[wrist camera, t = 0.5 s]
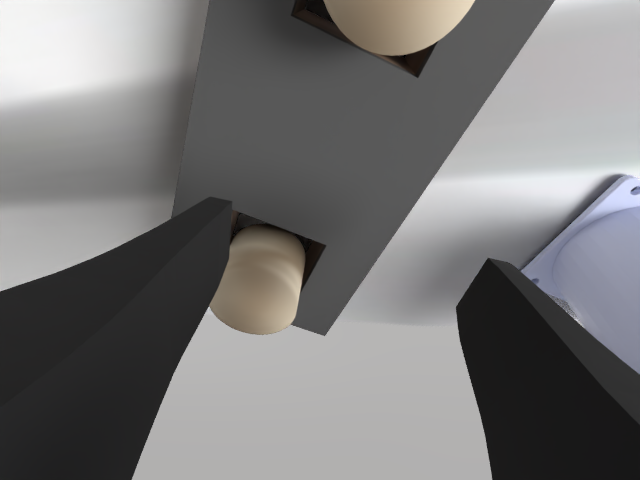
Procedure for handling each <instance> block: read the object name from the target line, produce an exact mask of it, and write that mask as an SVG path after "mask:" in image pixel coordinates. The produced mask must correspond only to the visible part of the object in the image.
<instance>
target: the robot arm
mask: <svg viewBox="0 0 640 480" xmlns="http://www.w3.org/2000/svg"><path fill="white" fill-rule="evenodd" d="M634 187H637V188H636V189H635V190H633V191H631V190H632V189H633V188H634ZM231 217H232V201H229V200H224V199H220V198H215V197H211V196H210V197H208V198H206V199H204V200H203V201H201V202H199V203H197V204H196V205H194V206H192V207H191V208H189V209H187V210H186V211H184V212H182V213H181V214H179V215H177V216H175V217H174V218H172V219H170V220H168V221H167V222H165V223H163V224H161V225H159V226H158V227H156V228H154V229H152V230H150V231H148V232H146V233H144V234H142V235H140V236H138V237H136V238H134V239H132V240H130V241H128V242H126V243H125V244H123V245H121V246H119V247H117V248H115V249H112V250H110V251H108V252H106V253H104V254H101V255H99V256H97V257H94V258H92V259H90V260H87V261H85V262H82V263H80V264H77V265H75V266H72V267H70V268H67V269H65V270H62V271H59V272H57V273H54V274H51V275H48V276H45V277H42V278H39V279H36V280H33V281H30V282H27V283H24V284H21V285H18V286H15V287H12V288H10V289H7V290H4V291H1V292H0V480H132V477H133V474H134V472H135V469H136V466H137V464H138V461H139V459H140V456H141V453H142V451H143V448H144V445H145V443H146V440H147V438H148V435H149V433H150V430H151V428H152V425H153V423H154V420H155V418H156V415H157V413H158V410H159V407H160V405H161V403H162V400H163V398H164V395H165V393H166V391H167V388H168V386H169V383H170V381H171V379H172V376H173V373H174V372H175V370H176V368H177V366H178V363H179V361H180V359H181V357H182V355H183V353H184V352H185V350H186V348H187V346H188V344H189V342H190V340H191V338H192V336H193V334H194V333H195V331H196V329H197V327H198V325H199V323H200V322H201V320H202V318H203V316H204V314H205V312H206V310H207V309H208V307H209V305H210V303H211V301H212V299H213V297H214V295H215V293H216V291H217V289H218V287H219V284H220V282H221V279H222V277H223V274H224V271H225V268H226V266H227V263H228V260H229V251H230V234H231ZM535 278H536V279H535ZM532 279H534V280H532ZM546 293H547V294H549V295H552V296H554V297H557V298H559V299H562V300H564V301H567V303H568V304H569V306H570V307H571V309H572V310H573V312H574V313H575V315H576V316H577V318H578V319H579V321H580V322H581V324H582V325H583V326H584V328H585V329H584V328H583V327H582V326H581V325H580V324H579V323H578V322H576V321H575V320H574V319H573V318H572V317H571V316H570V315H569V314H568V313H566V312H565V311H564V310H563V309H562V308H561V307H560V306H559V305H558V304H557V303H555V302H554V301H553V300H552V299H551V298H550V297H549V296H548V295H547V294H546ZM456 312H457V322H458V330H459V337H460V342H461V346H462V350H463V353H464V357H465V361H466V365H467V369H468V372H469V376H470V379H471V383H472V387H473V390H474V394H475V397H476V401H477V405H478V408H479V412H480V415H481V419H482V424H483V428H484V432H485V437H486V443H487V449H488V454H489V460H490V467H491V472H492V480H640V179H639V178H637V177H635V176H632V175H625V176H623V177H621V178H619V179H618V180H617V181H615V182H614V183H613V184H612V185H611V186H610V187H609V188H608V189H607V190H606V191H605V192H604V193H603V194H602V195H601V196H600V197H599V198H598V199H596V200H595V201H594V202H593V203H592V204H591V205H590V206H589V207H588V208H587V209H586V210H585V211H584V212H583V213H582V214H581V215H580V216H579V217H577V218H576V219H575V220H574V221H573V222H572V223H571V224H570V225H569V226H568V227H567V228H566V229H565V230H564V231H563V232H562V233H561V234H559V235H558V236H557V237H556V238H555V239H554V240H553V241H552V242H551V243H550V244H549V245H548V246H547V247H546V248H545V249H544V250H543V251H542V252H540V253H539V254H538V255H537V256H536V257H535V258H534V259H533V260H532V261H531V262H530V263H529V264H528V265H527V266H526V267H525V268H524V269H522V270H521V271H519V270H518V269H517V268H516V267H514V266H513V265H511V264H510V263H508V262H504V261H499V260H495V259H490V258H488V259H487V260H486V262H485V263H484V265H483V266H482V268H481V269H480V271H479V273H478V274H477V276H476V277H475V279H474V280H473V282H472V283H471V285H470V286H469V288H468V289H467V291H466V293H465V294H464V296H463V297H462V299H461V300H460V302H459V303H458V305H457V306H456Z"/></svg>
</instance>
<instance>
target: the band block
mask: <svg viewBox="0 0 640 480" xmlns="http://www.w3.org/2000/svg"><path fill="white" fill-rule="evenodd" d="M554 1H555V0H475V1H474V3H473V5H472V6H471V8H470V9H469V11H468V12H467V13H466V15H465V16H464V17H463V18H462V20H461V21H460V22H459V23H458V24H457V25H456V26H455V27H454V28H453V29H452V30H451V31H450V32H449V33H448V34H447V35H445V36H444V37H443V38H442V39H440V40H439V41H437V42H435V43H434V44H432V45H430V46H428V47H426V48H424V49H422V50H419V51H417V52H414V53H410V54H407V56H406V58H405V59H404V58H402V57H400V56H398V55H395V56H390V55H381V54H377V53H373V52H370V51H368V50H365V49H363V48H361V47H360V46H358V45H356V44H355V43H353V42H352V41H351V40H350V39H348V38H347V37H346V36H345V35H344V34H343V33H342V32H341V31H340V29H339V28H338V27H337V25H336V24H334V23H332V22H330V21H328V20H326V19H324V18H322V17H320V16H318V15H316V14H314V13H312V12H310V11H308V10H306V9H305V6H306V3H307V0H210V2H209V7H208V13H207V19H206V24H205V30H204V36H203V41H202V47H201V53H200V58H199V64H198V70H197V75H196V81H195V87H194V92H193V98H192V104H191V109H190V115H189V121H188V126H187V132H186V138H185V144H184V149H183V155H182V161H181V166H180V172H179V178H178V183H177V189H176V195H175V200H174V206H173V212H172V217H171V219H172V218H174V217H175V216H177V215H179V214H181V213H182V212H184V211H186V210H187V209H189V208H191V207H192V206H194V205H196V204H197V203H199V202H201V201H203V200H204V199H206V198H208V197H210V196H211V197H215V198H220V199H224V200H229V201H232V217H231V234H230V244H231V242H232V240H233V238H234V237H235V236H233V235H232V234H233V231H234V228H235V225H236V222H237V219H238V215H239V212H240V213H243V214H246V215H248V216H251V217H254V218H256V219H259V220H261V221H264V222H267V223H269V224H272V225H275V226H277V227H280V228H283V229H285V230H288V231H290V232H293V233H296V234H298V235H301V236H304V237H306V238H309V239H312V240H313V241H312V243H311V245H310V247H309V249H308V251H307V253H306V254H305V255H306V261H305V267H304V272H303V278H302V284H301V289H300V295H299V301H298V306H297V312H296V316H295V318H294V320H293V322H292V323H291V324H290V325H293V326H296V327H300V328H302V329H305V330H308V331H312V332H314V333H317V334H321V335H324V336H325V335H326V334H327V332H328V331H329V329H330V328H331V326H332V325H333V323H334V322H335V320H336V319H337V317H338V316H339V315H340V313H341V312H342V310H343V309H344V307H345V306H346V304H347V303H348V301H349V300H350V299H351V297H352V296H353V294H354V293H355V291H356V290H357V288H358V287H359V285H360V284H361V282H362V281H363V280H364V278H365V277H366V275H367V274H368V272H369V271H370V269H371V268H372V266H373V265H374V263H375V262H376V261H377V259H378V258H379V256H380V255H381V253H382V252H383V250H384V249H385V247H386V246H387V244H388V243H389V242H390V240H391V239H392V237H393V236H394V234H395V233H396V231H397V230H398V228H399V227H400V226H401V224H402V223H403V221H404V220H405V218H406V217H407V215H408V214H409V212H410V211H411V209H412V208H413V207H414V205H415V204H416V202H417V201H418V199H419V198H420V196H421V195H422V193H423V192H424V190H425V189H426V188H427V186H428V185H429V183H430V182H431V180H432V179H433V177H434V176H435V174H436V173H437V171H438V170H439V169H440V167H441V166H442V164H443V163H444V161H445V160H446V158H447V157H448V155H449V154H450V153H451V151H452V150H453V148H454V147H455V145H456V144H457V142H458V141H459V139H460V138H461V136H462V135H463V134H464V132H465V131H466V129H467V128H468V126H469V125H470V123H471V122H472V120H473V119H474V117H475V116H476V115H477V113H478V112H479V110H480V109H481V107H482V106H483V104H484V103H485V101H486V100H487V98H488V97H489V96H490V94H491V93H492V91H493V90H494V88H495V87H496V85H497V84H498V82H499V81H500V80H501V78H502V77H503V75H504V74H505V72H506V71H507V69H508V68H509V66H510V65H511V63H512V62H513V61H514V59H515V58H516V56H517V55H518V53H519V52H520V50H521V49H522V47H523V46H524V44H525V43H526V42H527V40H528V39H529V37H530V36H531V34H532V33H533V31H534V30H535V28H536V27H537V25H538V24H539V23H540V21H541V20H542V18H543V17H544V15H545V14H546V12H547V11H548V9H549V8H550V7H551V5H552V4H553V2H554Z"/></svg>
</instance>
